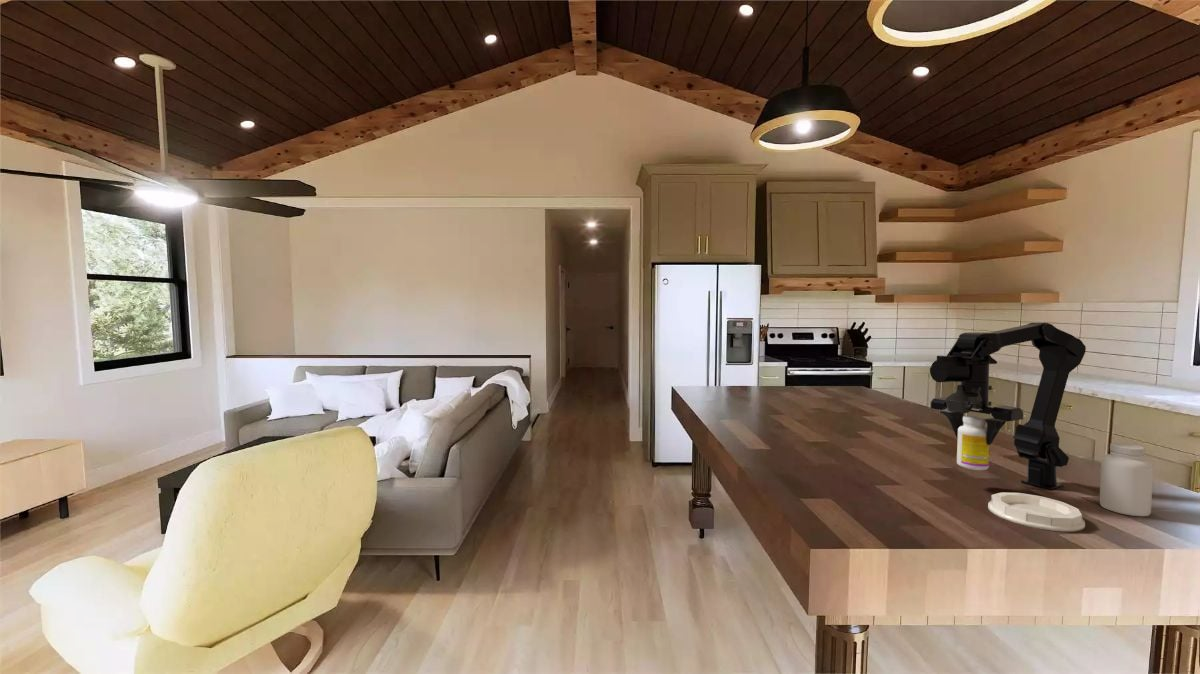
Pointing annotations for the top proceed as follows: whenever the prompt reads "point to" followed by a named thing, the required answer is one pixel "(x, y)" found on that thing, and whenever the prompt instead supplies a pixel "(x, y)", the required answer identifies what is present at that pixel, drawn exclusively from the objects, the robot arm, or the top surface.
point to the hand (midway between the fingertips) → (973, 441)
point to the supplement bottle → (973, 444)
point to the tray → (1036, 512)
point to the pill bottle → (1126, 480)
